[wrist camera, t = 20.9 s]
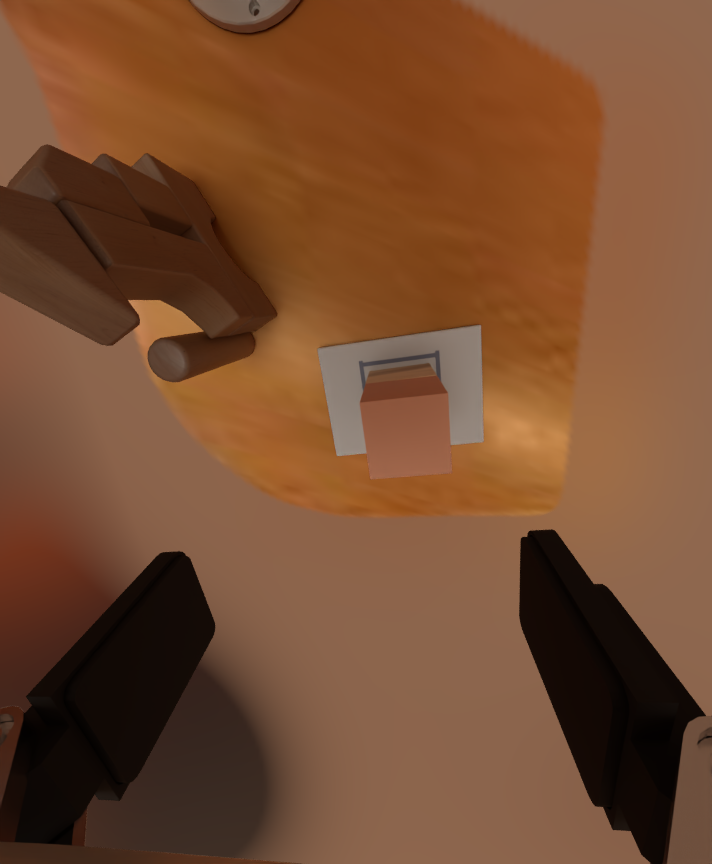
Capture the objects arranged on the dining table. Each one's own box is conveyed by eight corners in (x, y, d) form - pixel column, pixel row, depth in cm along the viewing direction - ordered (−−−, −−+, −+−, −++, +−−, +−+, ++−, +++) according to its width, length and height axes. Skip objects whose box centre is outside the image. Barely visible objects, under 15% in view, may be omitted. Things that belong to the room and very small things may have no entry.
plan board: (319, 347, 35) (317, 348, 34) (478, 324, 33) (481, 325, 32) (338, 452, 39) (336, 456, 38) (481, 438, 37) (483, 442, 36)
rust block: (365, 383, 29) (359, 402, 24) (436, 375, 28) (448, 393, 23) (374, 447, 31) (370, 479, 26) (441, 441, 30) (452, 472, 25)
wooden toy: (142, 224, 33) (-456, 34, 10) (192, 179, 31) (-391, -184, 8) (238, 363, 37) (-24, 464, 14) (288, 330, 35) (84, 381, 12)
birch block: (369, 371, 35) (365, 384, 29) (429, 362, 34) (436, 374, 28) (377, 426, 37) (374, 447, 31) (433, 419, 36) (441, 440, 30)
